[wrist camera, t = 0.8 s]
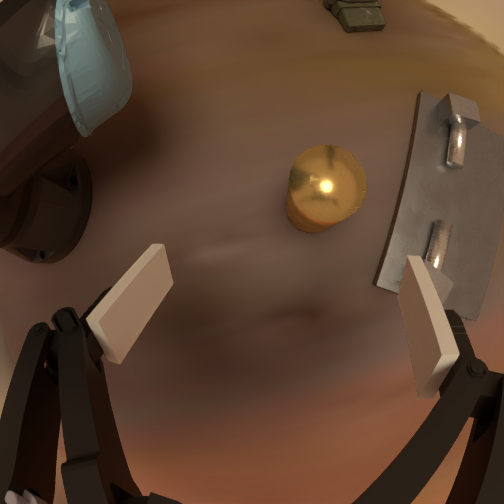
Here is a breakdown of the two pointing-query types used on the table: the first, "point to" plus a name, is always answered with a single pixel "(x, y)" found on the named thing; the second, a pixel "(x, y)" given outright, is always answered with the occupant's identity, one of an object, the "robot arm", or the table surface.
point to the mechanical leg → (357, 14)
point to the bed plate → (448, 204)
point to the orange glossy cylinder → (324, 188)
